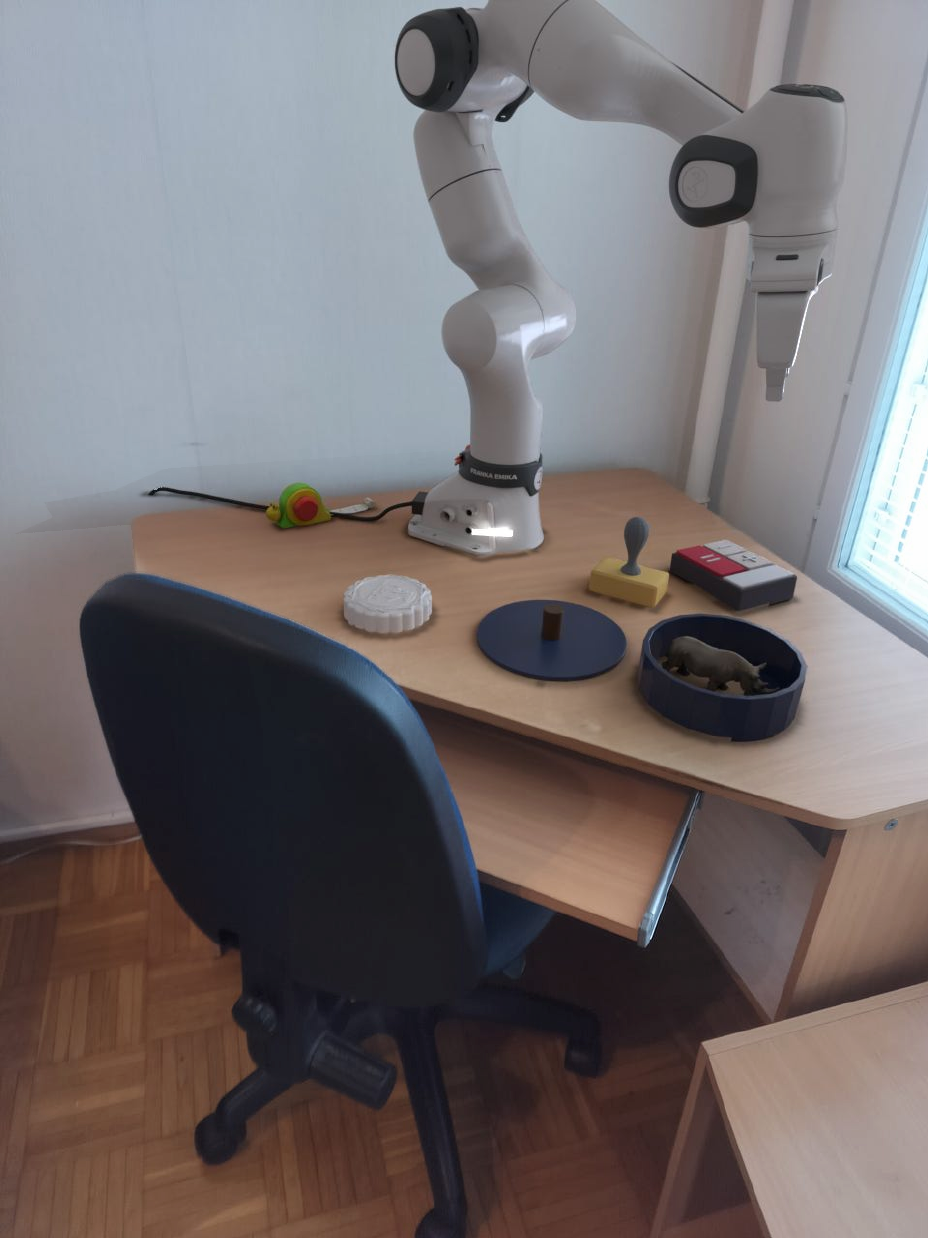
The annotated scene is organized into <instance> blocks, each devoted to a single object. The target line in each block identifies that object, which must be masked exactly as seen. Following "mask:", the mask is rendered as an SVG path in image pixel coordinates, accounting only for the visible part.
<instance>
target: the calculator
mask: <svg viewBox="0 0 928 1238" xmlns="http://www.w3.org/2000/svg"><path fill="white" fill-rule="evenodd" d="M670 558H671V559H670V564H669V565H670V566H669V572H671V573H672V574H674V575H676V576H678V577H679V578H681V579H683V580H685V581H686V582H688V583H690V584H693V585H695V586H697V587H698V588H699V589H701V590H703V591H704V592H706V593H708V594H710V595H711V596H713V597H714V598H715V599H717V600H718V601H719V602H721V603H723V604H725V605H726V606H727V607H729V608H731V609H732V610H734V611H736V612H742V611H745V610H750V609H753V608H757V607H761V606H764V605H769V606H770V605H774V604H777V603H781V602H784V601H789V600H792V599H794V594H795V590H796V585H797V580H798V576H797V575H796V574H794V573H793V572H792V571H790V570H788V569H786V568H783V567H781V566H779V565H777V564H773V561H772V560H770V559H768V558H765V557H763V556H762V555H759V554H757V553H755V552H753V551H747V549H746V548H744V547H743V546H741V545H738V544H736V543H734V542H733V541H731V540H728V539H722V540H718V541H714V542H708V543H704V544H703V545H695V546H690V547H686V548H681V549H677V550H676V552H672V553H671V557H670Z"/></svg>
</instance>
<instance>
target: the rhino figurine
mask: <svg viewBox="0 0 928 1238" xmlns="http://www.w3.org/2000/svg"><path fill="white" fill-rule="evenodd" d="M665 657H666V660H663V661H662V662H661V667H662V668H663V669H665V670H666V671H668V672H669V673H670V674H672V673H671V672H670V670H672V669H673V668H676V671H675V672H676V674H678V675H680V676H683V677H688V676H691V674H692V675H693V676H695V677H696V678H704V679H705V678H707V679H708V682H707V685H706V687H705V688H704V689H706V690H710V691H714V692H716V688H717V689H718V690H720V691H723V692H725V691H728V690H729V689H730V687H729V686H728V685H727V683H729V682H734V683H738V682H739V687H740V689H741V690H742V691H743V692H744V691H745V692H746V693H748V694H749V695H750V696H754V695H764V694H772V693H775V692H777V691H778V690H779V688H776V689H767V688H765V687H766V686H767V685H768V683H764V682H761V680H760V679H759V678H760V676H759V671H760V670H763V669H764V668H765V666H766V663H763V664H761V665H759V666H753V665H752V664H750V663H749V662H748V661H747V660H745V659H744V658H743V657H741V656H740V655H738V654H737V653H735V652H732V651H727V650H721V649H717V648H714V647H711V646H709V645H707V644H705V643H703V642H701V641H699V640H698V639H695V638H693V637H688V636H684V637H679V638H676V639H674V640H673V641H672V642H671V645H670V648H669V650H668V651H667V653H666V656H665Z"/></svg>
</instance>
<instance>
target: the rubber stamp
mask: <svg viewBox="0 0 928 1238" xmlns="http://www.w3.org/2000/svg"><path fill="white" fill-rule="evenodd" d="M649 534H650V526H649V523H648V521H647V520H646V519H645V518H643V517H641V516H634V517H631V518H629V520H627V522H626V524H625V525H624V530H623V538H624V544H625V547H626V551H627V561H625V560H621V559H617V558H613V557H610V556H605V557H604V558H603V559H601V560H600V561H599V562H598V564H596V565H595V566H594V567H593V568H592V569H591V570H590V575H589V576H590V577H589V584H588V590H589V591H591V592H595V593H598V594H602V595H605V596H609V597H613V598H616V599H620V600H623V601H627V602H630V603H634V604H638V605H640V606H641V605H642V606H646V607H649V608H656V606H657V605H658V603H659V602H660V601H661V600H662V598H663V597H665V595H666V594H667V592H668V591H667V590H668V584H669V580H670V579H669V578H670V573H669V572H667V571H663V570H660V569H656V568H652V567H648V566H645V565H641V564H638V563H637V561H638V557H639V555H640V553H641V552H642V550H643V548H644V547H645V546H646V545H645V544H646V543H647V541H648V538H649Z"/></svg>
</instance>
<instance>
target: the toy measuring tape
mask: <svg viewBox="0 0 928 1238" xmlns="http://www.w3.org/2000/svg"><path fill="white" fill-rule="evenodd" d="M362 502H363V503H360V504H359V503H358V504H354V505H348V506H346V507H341V508H335V509H332V510H329V509H328V508H327V507H325V505H324V503H323V500H322V497H321V494H320V493H319V492H318V491H317V490H316V489H315V488H314V487H312V486H311V485H309V484H308V483H305V482H301V481H300V482H294V483H292V484H289V485H288V486H286V487H285V488H284V489H283V491H282V492H281V494H280V495H279V500H278V504H276V503H275V502H274V501H271V502H270V503H269V506H271V507H269V508H268V509H267V510H265V516H266V518H267V519H268V520H269V521H271V522H275V523H276V525H278V527H280V528H281V529H288V528H289V529H290V528H294V527H297V526H308V525H309V526H310V525H314V524H319V523H324V522H327V521H330V520H331V519H332V516H331V515H330V512H337V513H344V514H349V515H352V514H358V513H360V512H364V511H367V510H369V509H370V510H372V509H373V508H374V507H375V506H376V502H375V501H374V500H372V499H371V498H370V497H365V498H364V499H363V500H362ZM278 507H279V508H278ZM332 515H333V514H332Z"/></svg>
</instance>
